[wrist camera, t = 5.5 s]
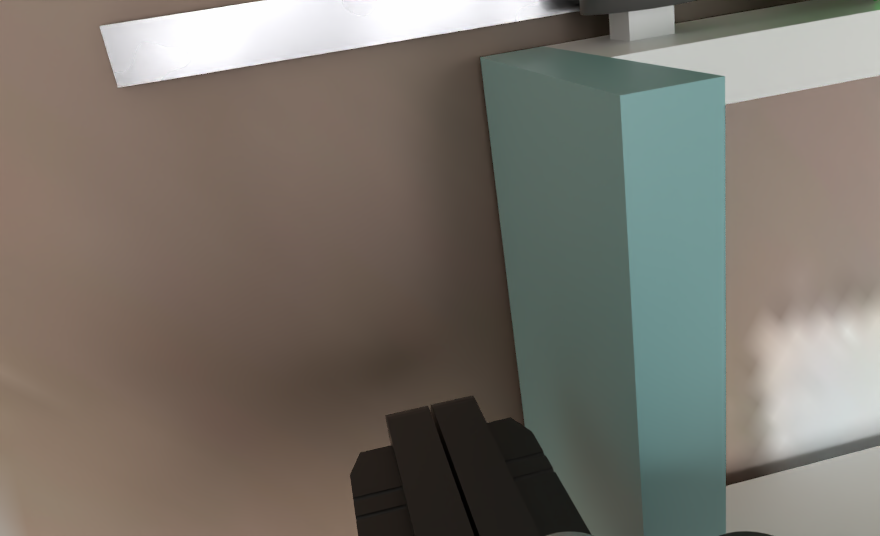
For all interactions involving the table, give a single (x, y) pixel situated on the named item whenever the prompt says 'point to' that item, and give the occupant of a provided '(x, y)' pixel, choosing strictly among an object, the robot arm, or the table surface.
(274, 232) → the table surface
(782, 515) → the cart
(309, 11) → the rails
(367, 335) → the table surface
